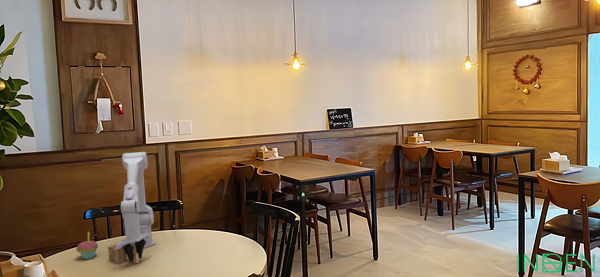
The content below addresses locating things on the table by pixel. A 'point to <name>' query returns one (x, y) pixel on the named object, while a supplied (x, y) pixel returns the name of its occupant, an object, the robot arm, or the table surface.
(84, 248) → the cupcake
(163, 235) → the table surface
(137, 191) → the robot arm
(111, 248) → the dispenser
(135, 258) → the pink flat bar
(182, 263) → the table surface
